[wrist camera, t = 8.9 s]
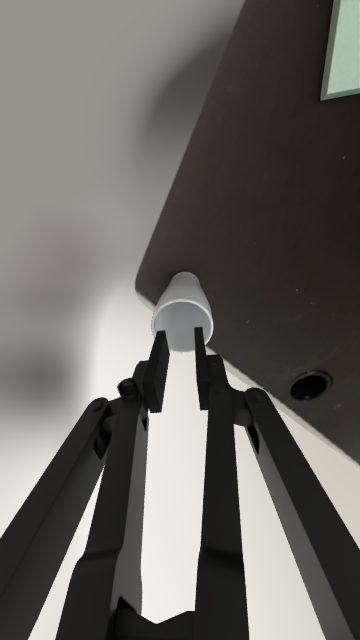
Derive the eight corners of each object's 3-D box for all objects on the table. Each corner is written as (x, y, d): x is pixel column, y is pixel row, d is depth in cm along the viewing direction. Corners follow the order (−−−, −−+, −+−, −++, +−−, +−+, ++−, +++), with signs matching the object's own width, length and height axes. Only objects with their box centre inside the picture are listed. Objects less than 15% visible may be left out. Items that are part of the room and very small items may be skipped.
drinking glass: (210, 273, 33) (224, 310, 19) (196, 308, 36) (200, 361, 22) (171, 260, 32) (159, 289, 19) (161, 297, 35) (143, 344, 22)
